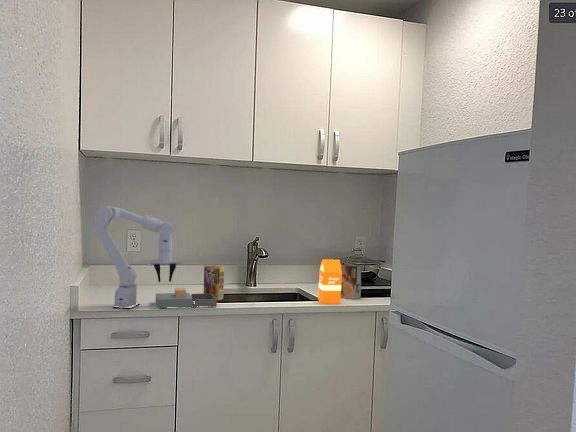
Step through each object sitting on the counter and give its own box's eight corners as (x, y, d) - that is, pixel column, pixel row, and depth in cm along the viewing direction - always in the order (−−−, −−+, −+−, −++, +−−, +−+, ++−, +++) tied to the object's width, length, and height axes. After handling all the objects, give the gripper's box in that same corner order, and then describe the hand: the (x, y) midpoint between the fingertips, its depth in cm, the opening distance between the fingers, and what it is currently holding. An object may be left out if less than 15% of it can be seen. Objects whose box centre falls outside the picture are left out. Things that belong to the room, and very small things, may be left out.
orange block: (176, 297, 219) (176, 290, 219) (174, 294, 225) (175, 287, 224) (185, 297, 220) (185, 290, 220) (184, 294, 226) (184, 287, 226)
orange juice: (318, 299, 244) (319, 258, 243) (335, 299, 246) (337, 258, 245) (322, 303, 237) (324, 260, 236) (340, 303, 238) (342, 260, 238)
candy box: (223, 299, 238) (224, 266, 237) (218, 300, 234) (219, 267, 233) (208, 296, 242) (209, 264, 241) (202, 298, 238) (203, 265, 238)
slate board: (157, 309, 213) (157, 299, 213) (155, 302, 226) (155, 293, 226) (192, 308, 218) (192, 298, 218) (188, 301, 230) (188, 292, 230)
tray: (192, 307, 218) (193, 299, 218) (189, 301, 230) (189, 293, 230) (216, 307, 221) (216, 299, 221) (211, 300, 233) (212, 293, 233)
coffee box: (361, 297, 254) (362, 265, 253) (356, 299, 248) (357, 266, 248) (344, 295, 259) (345, 263, 258) (339, 297, 253) (340, 264, 252)
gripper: (148, 251, 213) (147, 283, 214) (183, 251, 218) (182, 282, 218) (147, 249, 220) (147, 280, 221) (181, 249, 224) (181, 279, 225)
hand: (164, 281), depth 220 cm, fingers open, 4 cm apart
